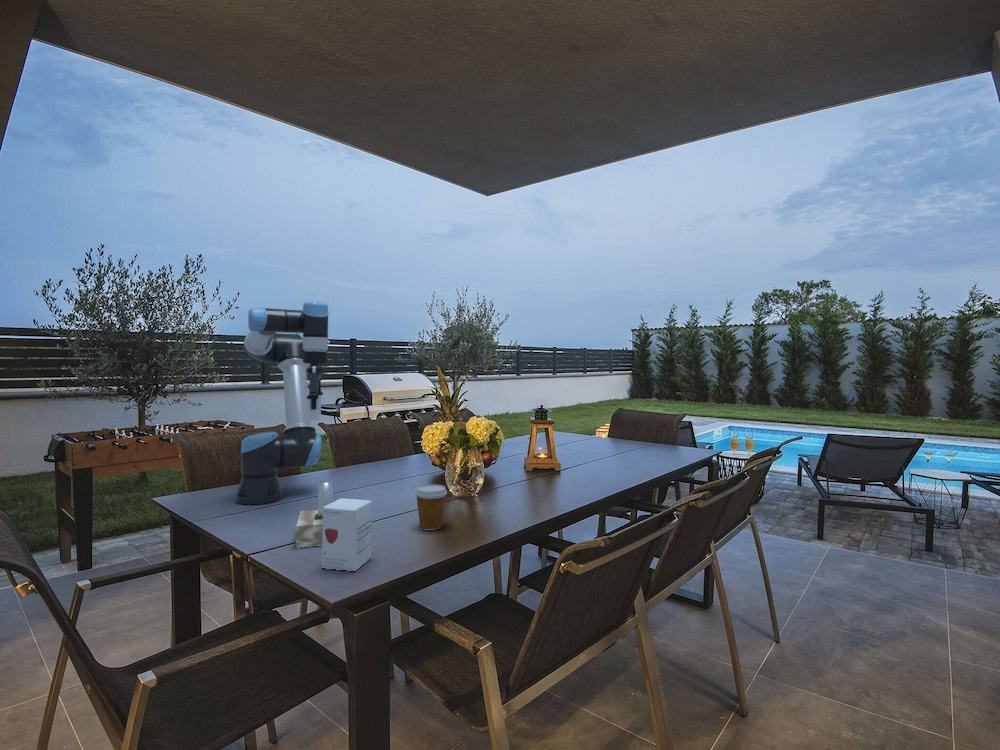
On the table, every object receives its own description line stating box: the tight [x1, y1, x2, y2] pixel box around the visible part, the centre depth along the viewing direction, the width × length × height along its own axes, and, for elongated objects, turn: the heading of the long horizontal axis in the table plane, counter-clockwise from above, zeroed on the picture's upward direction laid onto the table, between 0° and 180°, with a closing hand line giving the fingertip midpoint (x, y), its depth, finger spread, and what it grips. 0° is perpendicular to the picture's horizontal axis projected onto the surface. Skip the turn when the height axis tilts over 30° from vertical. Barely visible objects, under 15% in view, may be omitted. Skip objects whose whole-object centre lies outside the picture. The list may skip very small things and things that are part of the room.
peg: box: [317, 480, 334, 520], centre depth 143 cm, size 4×4×14 cm
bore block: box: [295, 509, 322, 548], centre depth 143 cm, size 14×14×6 cm
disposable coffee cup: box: [414, 484, 448, 530], centre depth 152 cm, size 10×10×12 cm
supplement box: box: [321, 497, 373, 572], centre depth 124 cm, size 9×9×15 cm
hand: (315, 417), depth 162 cm, fingers open, 13 cm apart
